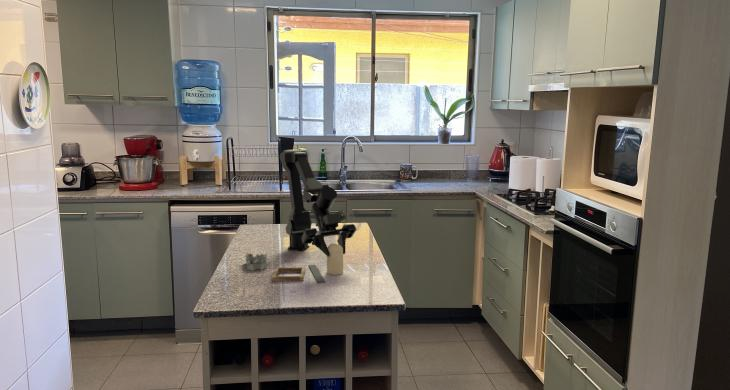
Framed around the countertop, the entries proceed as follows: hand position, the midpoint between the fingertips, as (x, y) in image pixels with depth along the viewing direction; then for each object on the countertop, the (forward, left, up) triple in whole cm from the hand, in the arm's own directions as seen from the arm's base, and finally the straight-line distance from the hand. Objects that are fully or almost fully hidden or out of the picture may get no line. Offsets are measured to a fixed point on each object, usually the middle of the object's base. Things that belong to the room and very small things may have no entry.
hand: (336, 254), depth 173 cm
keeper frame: (-13, -9, -7) cm, 17 cm away
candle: (-1, +1, -7) cm, 7 cm away
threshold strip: (-6, -3, -7) cm, 10 cm away
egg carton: (-30, -4, -7) cm, 31 cm away
